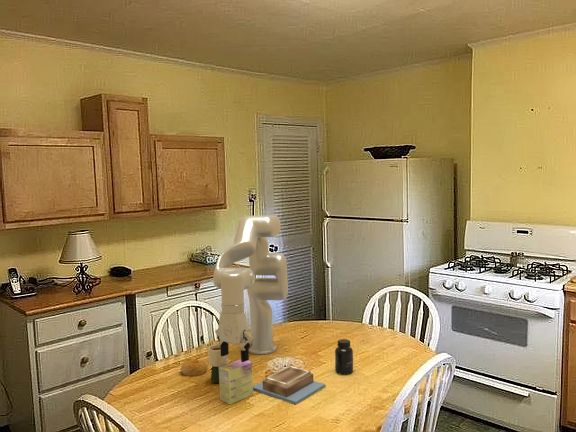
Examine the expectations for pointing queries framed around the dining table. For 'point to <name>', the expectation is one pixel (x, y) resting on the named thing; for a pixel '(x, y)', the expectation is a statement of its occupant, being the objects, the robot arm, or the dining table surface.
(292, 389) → the tray
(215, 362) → the character mug
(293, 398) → the board
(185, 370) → the bagel
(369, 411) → the dining table surface
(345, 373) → the supplement bottle
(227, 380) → the box
